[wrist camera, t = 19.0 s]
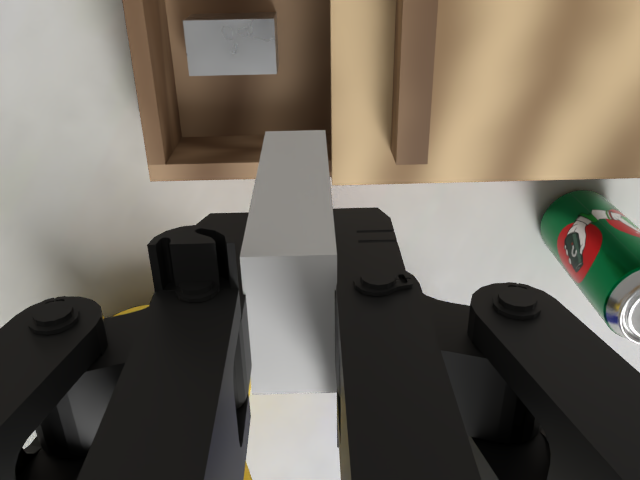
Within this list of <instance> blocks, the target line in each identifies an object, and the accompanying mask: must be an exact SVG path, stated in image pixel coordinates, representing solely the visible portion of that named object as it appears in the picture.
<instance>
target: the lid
mask: <svg viewBox="0 0 640 480" xmlns="http://www.w3.org/2000/svg"><path fill="white" fill-rule="evenodd" d="M330 51H331V153H332V185H369V184H411V183H452V182H493V181H534V180H576V179H617V178H640V0H330Z"/></svg>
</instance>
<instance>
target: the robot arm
mask: <svg viewBox="0 0 640 480" xmlns="http://www.w3.org/2000/svg"><path fill="white" fill-rule="evenodd" d="M147 246H148V252H149V258H150V264H151V270H152V276H153V282H154V289H155V293H154V295H153V297H152V300H151V302H150V305H149V307H147V308H144V309H142V310H139V311H135V312H131V313H127V314H123V315H118V316H113V317H108V318H104V319H103V316H102V311H101V306H99V305H98V304H97V303H96V302H95V301H93V300H91V299H87V298H83V297H66V296H63V297H56V298H55V299H54V298H51V299H47V300H44V301H42V302H40V303H38V304H35V305H33V306H30V307H28V308H27V309H25V310H24V311H22V312H20V313H19V314H17V315H16V316H15V317H13V318H12V319H11V320H10V321H9V322H8V323H6V324H5V325H4V326H3V327H2V328H0V480H244V471H245V462H246V453H247V444H248V435H249V426H250V417H251V415H250V404H249V393H248V392H249V384H250V379H251V390H252V395H258V394H294V393H331V392H337V447H339V454H340V471H341V480H640V373H639V372H638V371H637V370H636V369H635V368H633V367H632V366H631V365H630V364H629V363H628V362H627V361H626V360H624V359H623V358H622V357H621V356H620V355H619V354H618V353H616V352H615V351H614V350H613V349H612V348H611V347H610V346H608V345H607V344H606V343H605V342H604V341H603V340H602V339H601V338H599V337H598V336H597V335H596V334H595V333H594V332H593V331H591V330H590V329H589V328H588V327H587V326H586V325H585V324H584V323H582V322H581V321H580V320H579V319H578V318H577V317H576V316H574V315H573V314H572V313H571V312H570V311H569V310H568V309H566V308H565V307H564V306H563V305H562V304H561V303H560V302H559V301H557V300H556V299H555V298H553V297H552V296H550V295H549V294H547V293H546V292H544V291H542V290H539V289H536V288H533V287H530V286H528V285H525V284H520V283H519V284H516V283H509V282H508V283H495V284H491V285H487V286H484V287H481V288H480V289H478V290H477V291H476V292H475V293H474V294H472V299H471V304H470V306H468V305H461V304H455V303H449V302H445V301H440V300H437V299H434V298H431V297H429V296H426V295H425V294H423V293H422V290H421V287H420V284H419V282H418V281H417V279H416V278H415V277H414V276H413V275H412V274H410V273H408V272H407V271H406V270H405V267H404V263H403V260H402V256H401V253H400V250H399V246H398V243H397V239H396V236H395V232H394V229H393V226H392V222H391V219H390V217H389V216H387V215H386V214H385V213H384V212H382V211H381V210H380V209H378V208H341V209H333V207H332V196H331V186H330V175H329V164H328V154H327V143H326V133H325V130H304V131H265V136H264V141H263V146H262V151H261V155H260V160H259V165H258V170H257V175H256V180H255V185H254V190H253V194H252V199H251V204H250V209H249V213H211V214H209V215H208V216H206V217H205V218H204V219H203V220H201V221H200V222H199V223H197V224H196V225H193V226H183V227H179V228H175V229H172V230H168V231H165V232H163V233H162V234H160V235H158V236H156V237H154V238H153V239H152V240H151V241H150V242H149V244H148V245H147ZM34 430H36V433H37V437H36V438H35V439H34V440H33V442H32V443H31V444H30V445H29V446H28V447H26V448H25V449H23V448H22V447H23V445H24V443H25V442H26V440H27V439H28V437H29V436H30V435H31V434H32V433H33V432H34Z"/></svg>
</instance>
